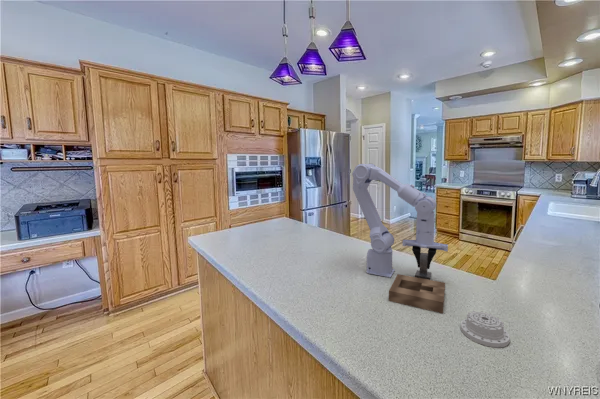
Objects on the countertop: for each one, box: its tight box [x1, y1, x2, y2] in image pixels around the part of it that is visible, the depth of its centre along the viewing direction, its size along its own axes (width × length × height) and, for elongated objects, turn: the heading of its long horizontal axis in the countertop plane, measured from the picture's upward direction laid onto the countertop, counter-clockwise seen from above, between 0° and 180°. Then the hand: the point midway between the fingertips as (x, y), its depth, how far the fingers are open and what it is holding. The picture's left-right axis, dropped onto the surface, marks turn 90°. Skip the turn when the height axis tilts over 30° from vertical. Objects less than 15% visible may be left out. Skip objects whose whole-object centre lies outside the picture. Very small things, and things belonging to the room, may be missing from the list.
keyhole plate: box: [388, 273, 446, 314], centre depth 83 cm, size 15×14×3 cm
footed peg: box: [414, 252, 433, 280], centre depth 93 cm, size 5×5×9 cm
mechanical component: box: [460, 310, 511, 348], centre depth 64 cm, size 10×4×10 cm
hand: (423, 267), depth 93 cm, fingers closed on footed peg, 2 cm apart
